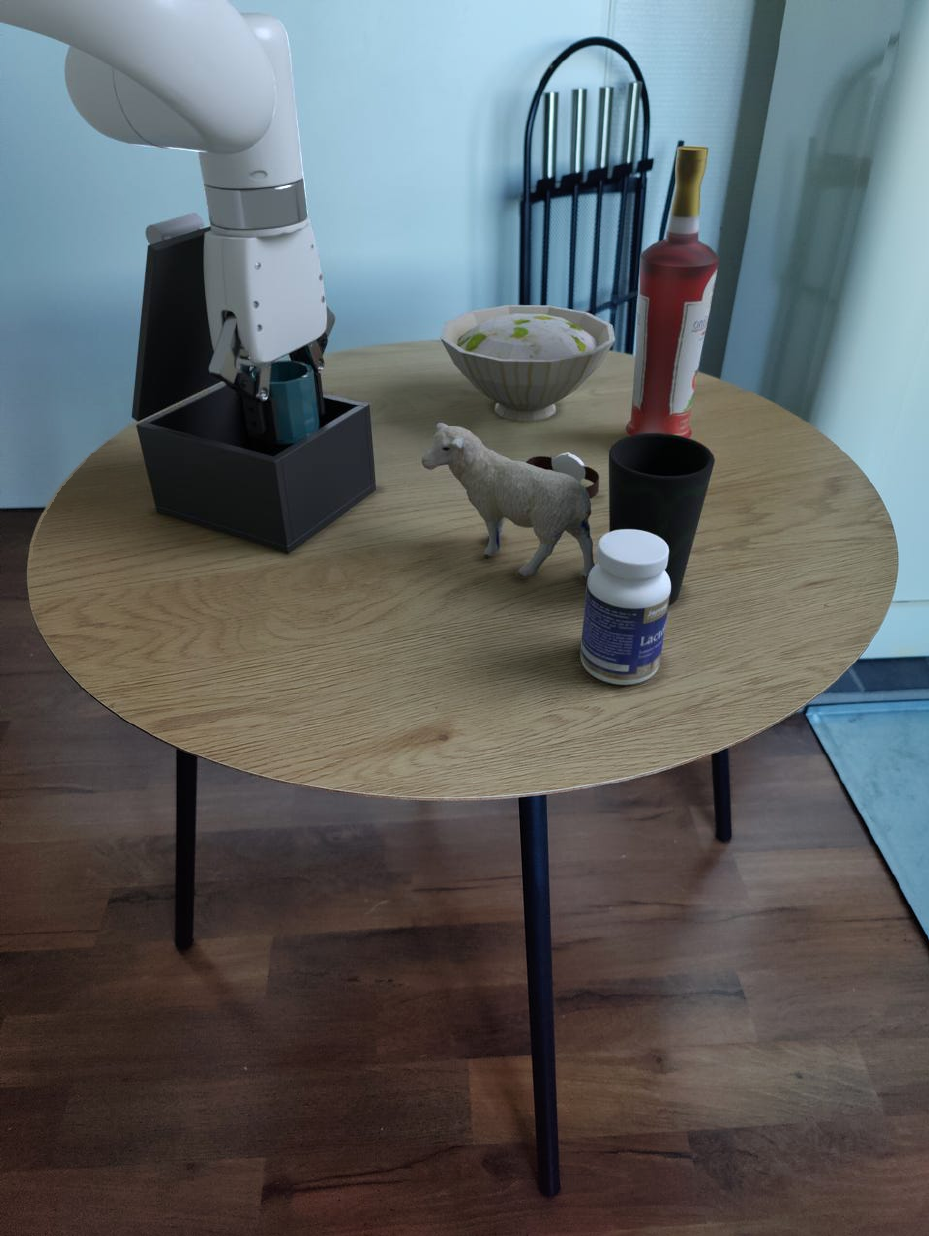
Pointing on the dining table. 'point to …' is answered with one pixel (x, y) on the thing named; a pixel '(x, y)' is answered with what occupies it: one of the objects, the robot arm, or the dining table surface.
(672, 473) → the cup
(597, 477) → the watch
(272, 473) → the dark gray hinged chest
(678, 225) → the liquor
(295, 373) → the creamer cup
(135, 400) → the chest lid
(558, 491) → the figurine
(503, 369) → the bowl
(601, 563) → the pill bottle
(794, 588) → the dining table surface
